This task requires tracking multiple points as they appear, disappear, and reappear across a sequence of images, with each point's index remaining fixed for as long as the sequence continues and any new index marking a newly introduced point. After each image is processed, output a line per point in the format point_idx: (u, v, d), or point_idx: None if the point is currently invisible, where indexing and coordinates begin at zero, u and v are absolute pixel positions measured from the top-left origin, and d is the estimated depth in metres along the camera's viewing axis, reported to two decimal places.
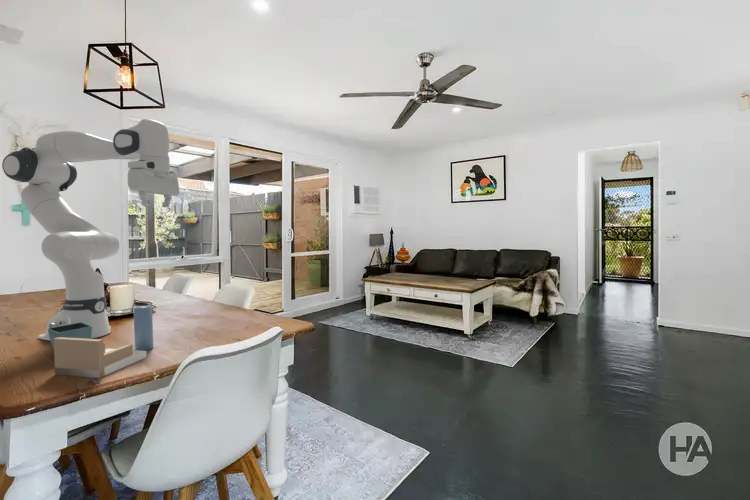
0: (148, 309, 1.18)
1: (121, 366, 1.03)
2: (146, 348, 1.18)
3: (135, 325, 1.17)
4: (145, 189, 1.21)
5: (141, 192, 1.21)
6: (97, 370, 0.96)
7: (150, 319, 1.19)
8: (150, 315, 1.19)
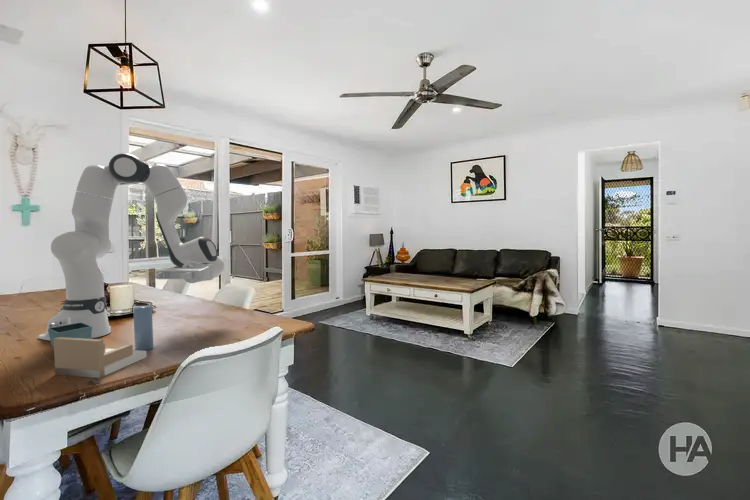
0: (148, 309, 1.18)
1: (121, 366, 1.03)
2: (146, 348, 1.18)
3: (135, 325, 1.17)
4: (194, 279, 1.35)
5: (192, 275, 1.34)
6: (97, 370, 0.96)
7: (150, 319, 1.19)
8: (150, 315, 1.19)
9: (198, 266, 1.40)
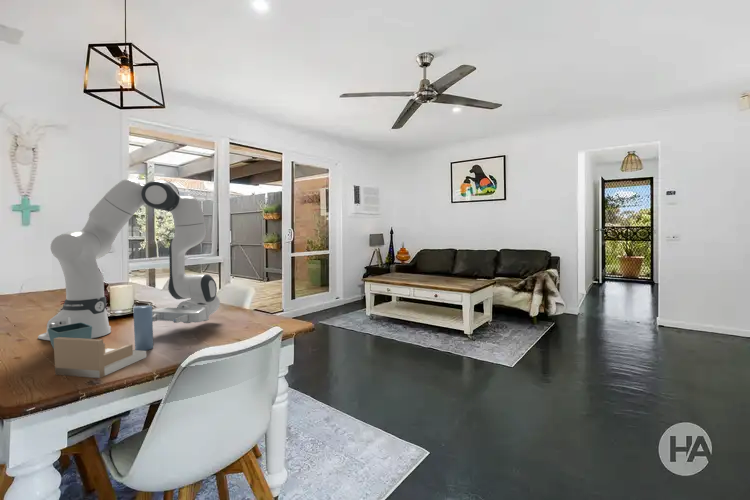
0: (148, 309, 1.18)
1: (121, 366, 1.03)
2: (146, 348, 1.18)
3: (135, 325, 1.17)
4: (190, 322, 1.33)
5: (187, 318, 1.32)
6: (97, 370, 0.96)
7: (150, 319, 1.19)
8: (150, 315, 1.19)
9: (194, 307, 1.38)
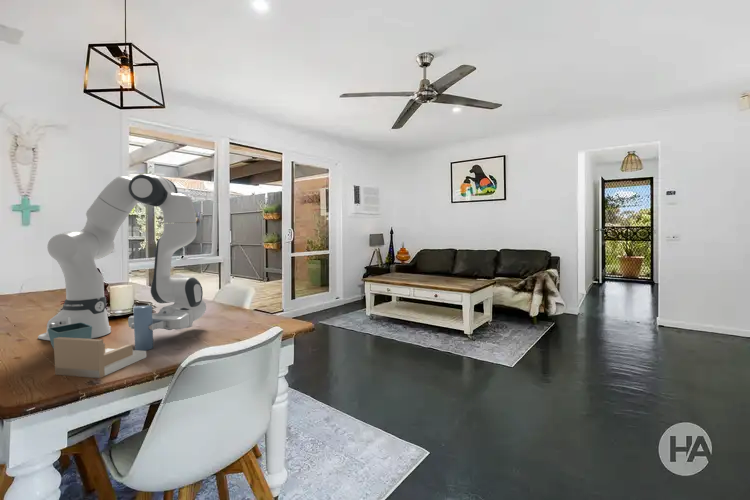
0: (148, 309, 1.18)
1: (121, 366, 1.03)
2: (146, 348, 1.18)
3: (135, 325, 1.17)
4: (171, 329, 1.23)
5: (164, 324, 1.22)
6: (97, 370, 0.96)
7: (150, 319, 1.19)
8: (150, 315, 1.19)
9: (176, 312, 1.29)
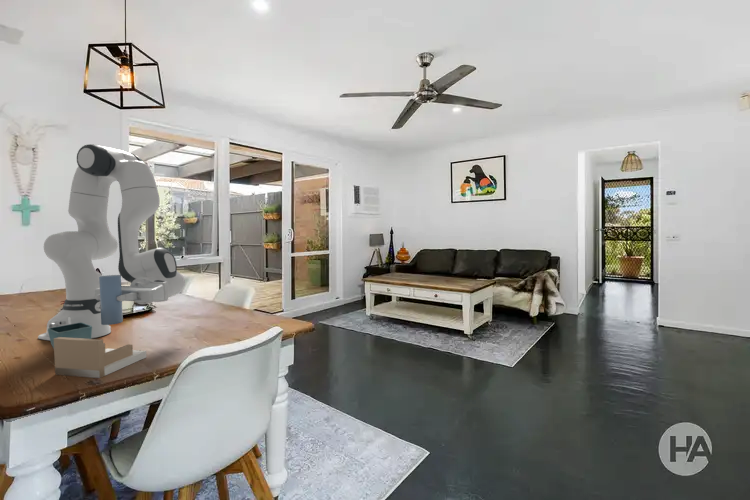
0: (116, 278, 1.06)
1: (121, 366, 1.03)
2: (114, 321, 1.06)
3: (101, 296, 1.05)
4: (142, 301, 1.11)
5: (135, 296, 1.10)
6: (97, 370, 0.96)
7: (118, 289, 1.07)
8: (118, 285, 1.07)
9: (149, 284, 1.16)
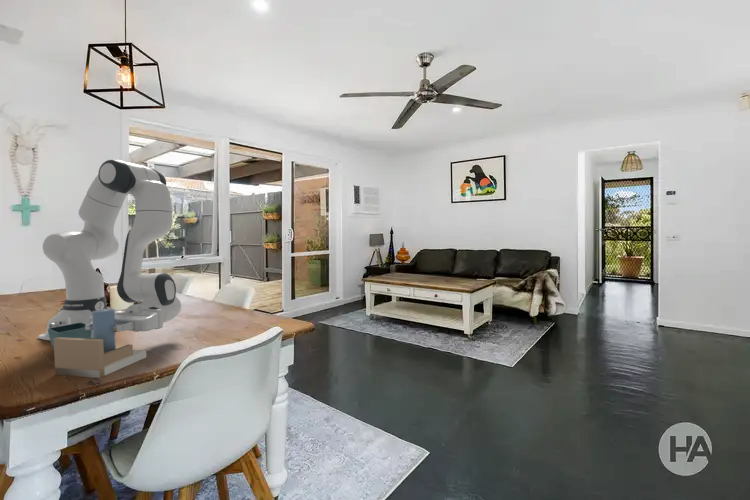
0: (109, 313, 1.04)
1: (121, 366, 1.03)
2: None
3: (94, 331, 1.03)
4: (136, 330, 1.09)
5: (133, 326, 1.07)
6: (97, 370, 0.96)
7: (112, 324, 1.05)
8: (112, 320, 1.05)
9: (144, 312, 1.14)
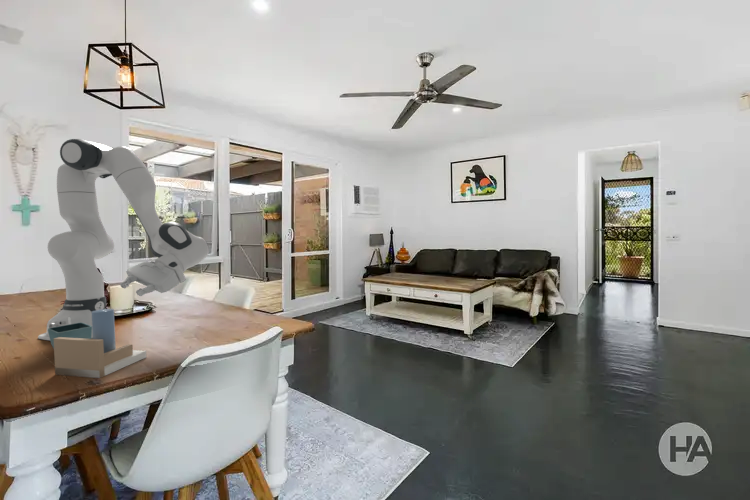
0: (108, 313, 1.04)
1: (121, 366, 1.03)
2: None
3: (93, 331, 1.03)
4: None
5: (153, 288, 1.18)
6: (97, 370, 0.96)
7: (111, 324, 1.05)
8: (111, 320, 1.05)
9: (164, 269, 1.23)
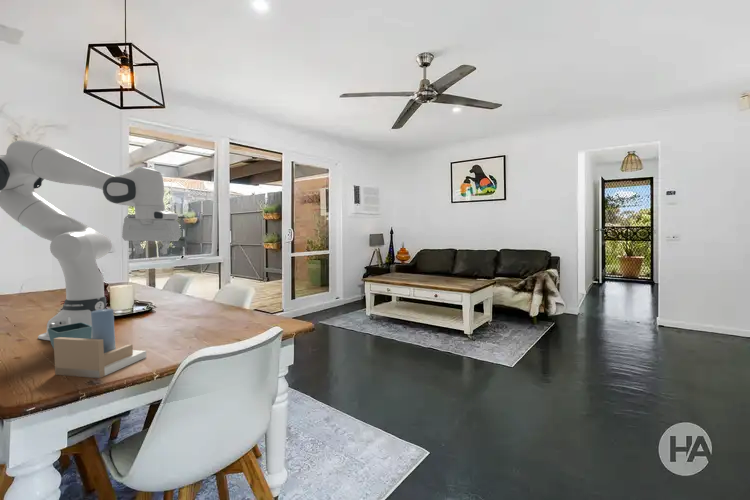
0: (108, 313, 1.04)
1: (121, 366, 1.03)
2: None
3: (93, 331, 1.03)
4: None
5: (168, 242, 1.26)
6: (97, 370, 0.96)
7: (111, 324, 1.05)
8: (111, 320, 1.05)
9: (156, 222, 1.23)
